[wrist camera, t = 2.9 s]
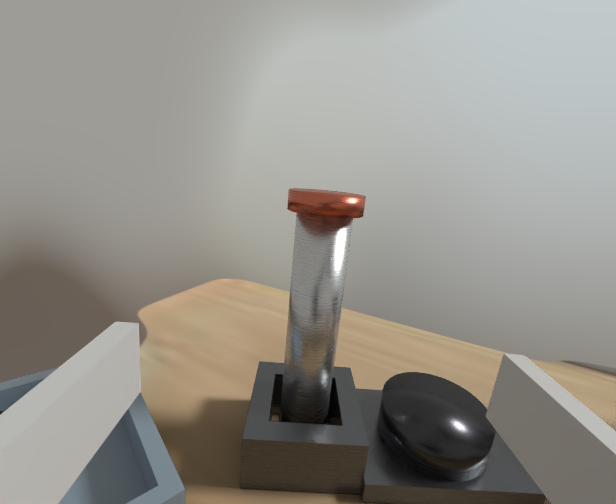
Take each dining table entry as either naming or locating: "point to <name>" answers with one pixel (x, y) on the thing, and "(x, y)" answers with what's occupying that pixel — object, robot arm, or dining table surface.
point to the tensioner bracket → (384, 444)
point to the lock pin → (315, 299)
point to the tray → (117, 457)
